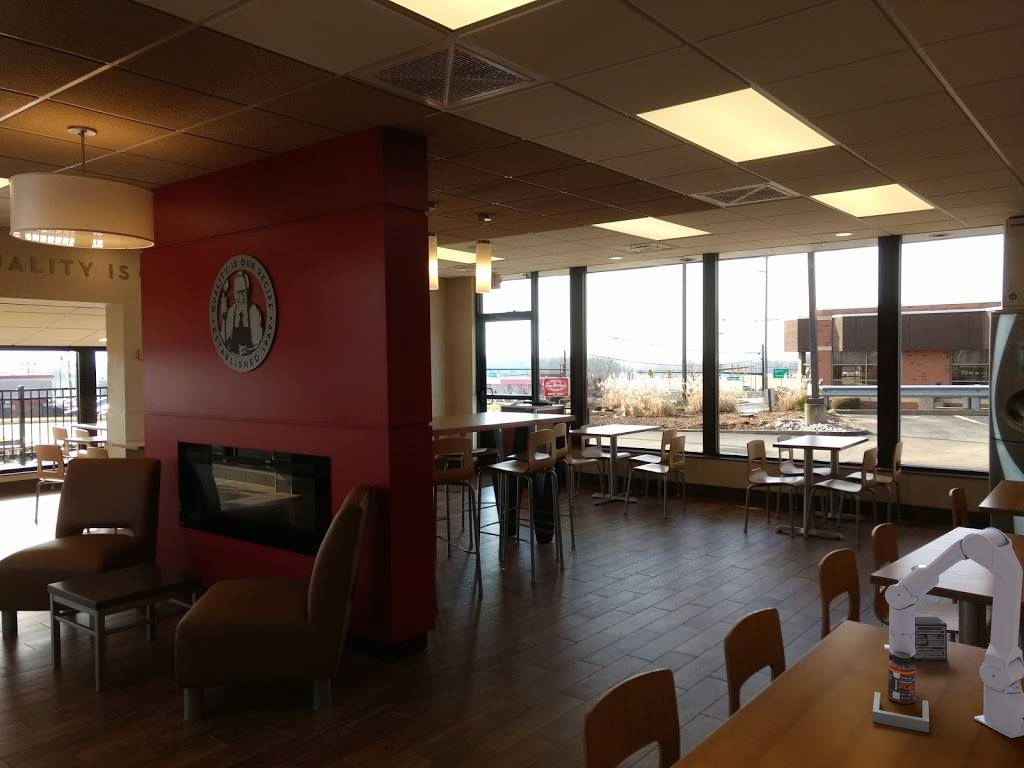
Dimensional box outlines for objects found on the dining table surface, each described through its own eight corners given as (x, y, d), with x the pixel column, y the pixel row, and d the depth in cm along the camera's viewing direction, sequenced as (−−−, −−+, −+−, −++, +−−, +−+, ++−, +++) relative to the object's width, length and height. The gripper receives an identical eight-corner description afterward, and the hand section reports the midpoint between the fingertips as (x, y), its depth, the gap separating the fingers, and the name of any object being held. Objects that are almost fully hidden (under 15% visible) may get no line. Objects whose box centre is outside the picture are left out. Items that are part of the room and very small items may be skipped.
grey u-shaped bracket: (874, 701, 186) (874, 691, 186) (928, 711, 181) (928, 700, 181) (872, 721, 176) (872, 711, 176) (928, 732, 171) (929, 721, 171)
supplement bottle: (900, 706, 183) (900, 660, 183) (882, 696, 189) (882, 651, 189) (920, 703, 185) (921, 657, 184) (902, 692, 191) (902, 648, 190)
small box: (937, 652, 215) (937, 615, 215) (948, 662, 209) (948, 624, 208) (898, 651, 216) (898, 615, 216) (907, 661, 210) (907, 623, 209)
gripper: (885, 619, 200) (885, 670, 201) (883, 638, 187) (883, 692, 188) (915, 623, 197) (915, 675, 197) (915, 643, 184) (915, 698, 184)
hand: (901, 684), depth 192 cm, fingers closed
